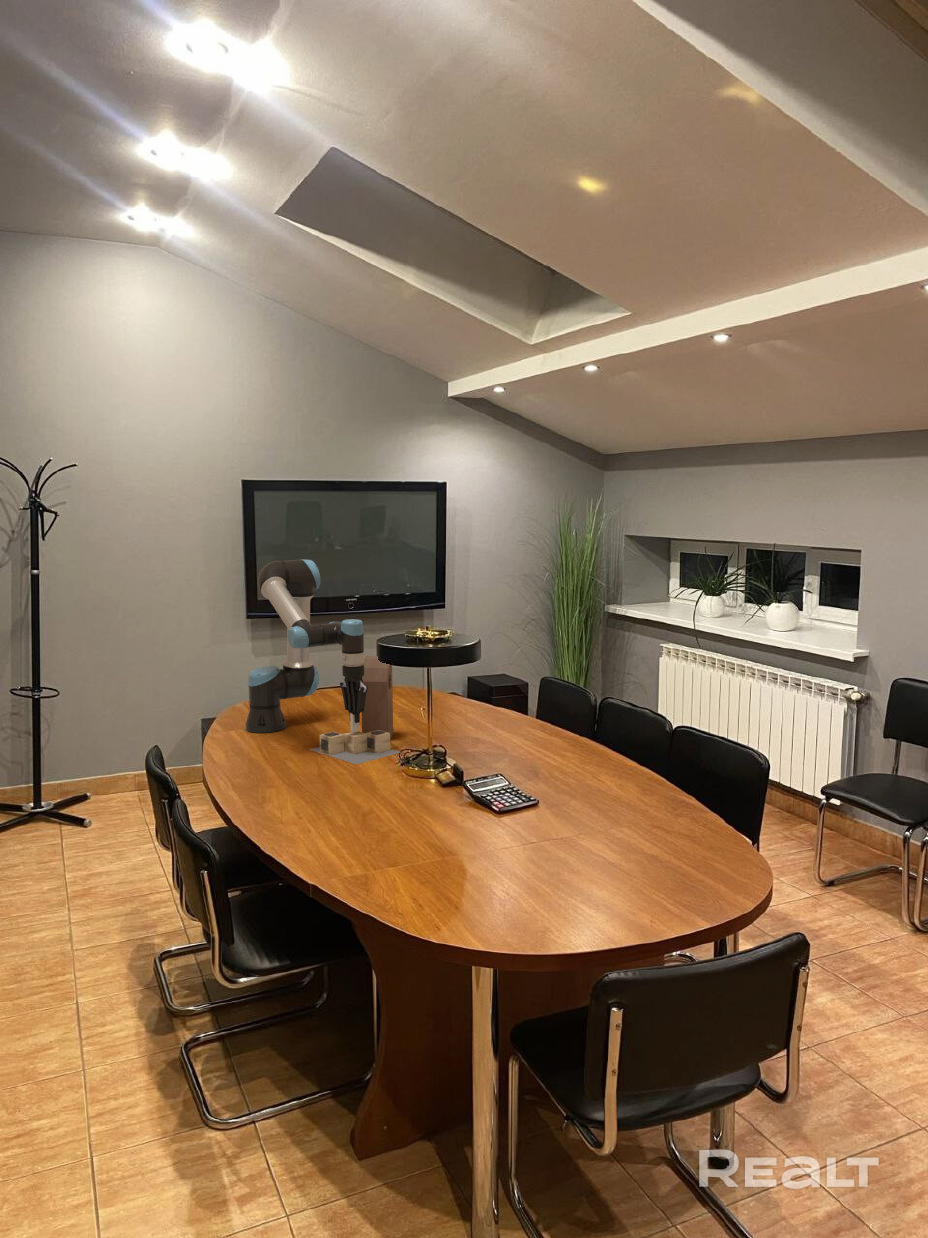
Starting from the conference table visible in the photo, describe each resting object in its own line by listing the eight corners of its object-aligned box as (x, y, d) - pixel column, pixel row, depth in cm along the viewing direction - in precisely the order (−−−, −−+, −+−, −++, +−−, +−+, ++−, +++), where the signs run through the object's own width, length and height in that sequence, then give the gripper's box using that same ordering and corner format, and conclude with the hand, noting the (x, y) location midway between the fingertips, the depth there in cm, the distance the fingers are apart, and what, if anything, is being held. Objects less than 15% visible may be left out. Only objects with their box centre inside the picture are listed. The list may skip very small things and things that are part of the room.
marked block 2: (365, 750, 324) (364, 732, 324) (379, 746, 329) (378, 729, 328) (376, 753, 320) (376, 735, 319) (390, 749, 325) (389, 732, 324)
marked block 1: (319, 751, 323) (318, 734, 322) (333, 748, 327) (333, 730, 326) (329, 755, 319) (329, 737, 318) (344, 751, 323) (343, 733, 322)
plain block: (343, 750, 324) (342, 734, 323) (356, 747, 328) (356, 730, 327) (353, 754, 320) (353, 737, 319) (367, 750, 324) (367, 733, 323)
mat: (309, 751, 326) (309, 749, 326) (354, 739, 340) (354, 738, 340) (356, 766, 308) (356, 764, 308) (401, 753, 322) (401, 752, 322)
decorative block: (393, 735, 346) (392, 656, 342) (388, 742, 336) (387, 661, 332) (367, 735, 347) (365, 655, 343) (362, 742, 337) (360, 660, 333)
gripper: (332, 663, 321) (334, 730, 325) (356, 668, 312) (358, 736, 316) (350, 660, 327) (351, 726, 330) (373, 665, 318) (375, 732, 321)
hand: (355, 731), depth 323 cm, fingers closed
